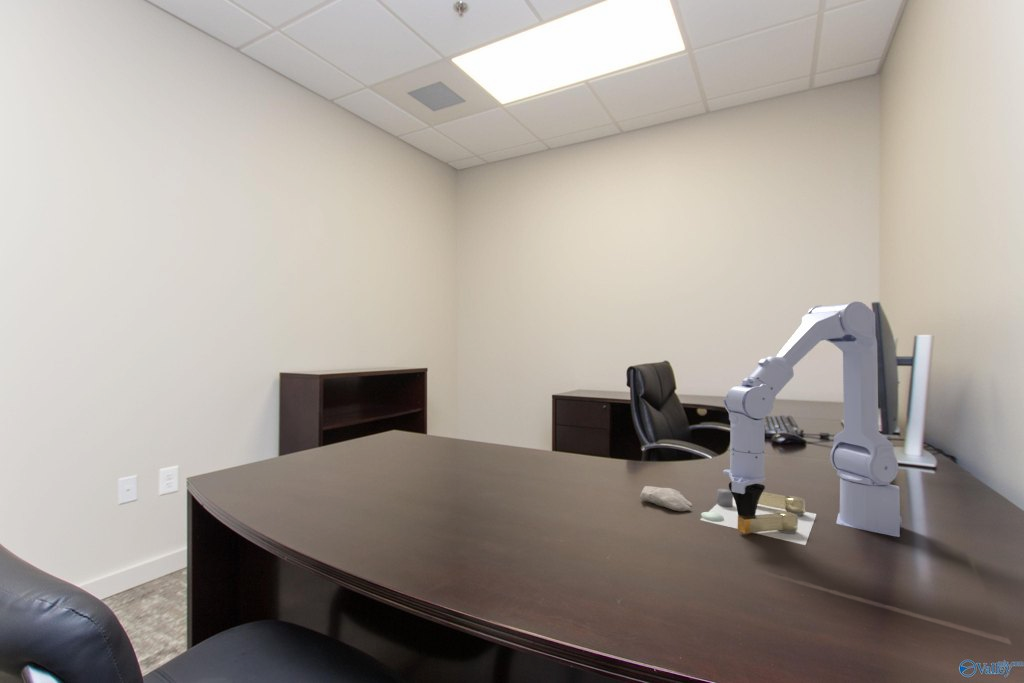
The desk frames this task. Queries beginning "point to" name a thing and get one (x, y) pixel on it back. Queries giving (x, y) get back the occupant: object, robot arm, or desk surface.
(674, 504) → the decorative stone
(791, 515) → the translucent tan bar
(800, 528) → the levelling base
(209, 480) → the desk surface
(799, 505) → the far capped tube
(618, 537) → the desk surface
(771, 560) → the desk surface
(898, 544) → the desk surface
